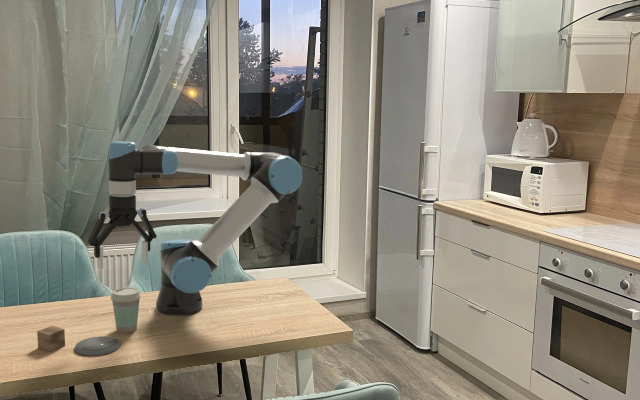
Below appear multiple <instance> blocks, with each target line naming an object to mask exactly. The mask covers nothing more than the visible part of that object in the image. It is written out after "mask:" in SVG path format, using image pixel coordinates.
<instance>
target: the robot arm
mask: <svg viewBox="0 0 640 400" xmlns="http://www.w3.org/2000/svg"><path fill="white" fill-rule="evenodd" d="M107 157H108V193H109V194H110V195H109V197H108V209H109V210H108V212H102V211H99V212H98V213H97V220H96V222H95V224H94V226H93V228H92V231H91V232H90V234H89V236H88V239H87V241H86V243H87V244H88V245H90V246H92V247H93V255H94V258H96V261H97V268H98V269H99V270H104V247H103V246H102V245H103V243H104V242H105V241H106V239H108V237H109V235H110V234H111V233H112V231H113V230H114V229H116V228H117V227H118V228H119V227H129V226H132V227H133V229H135V231H136V232H137V233H138V234H139V235H140V236H141V237H142V238H143V240H141V262H142V263H145V264H148V261H149V259H148V257H149V256H148V255H149V253H148V252H150V251H151V242H153V239H157V234H156V232H155V230H154V228H153V226H152V224H151V222H150V220H149V218H148V217H147V216H148V215H147V210H146V209H144V208H140V209H138V210H137V209H136V208H137V196H136V195H135V194H136V193H137V181H136V180H137V175H164V176H166V175H174V174H176V173H177V172H181V173H192V174H201V175H202V174H205V175H216V176H224V177H225V176H226V177H236V178H237V177H238V178H241V180H243V181H248V182H250V185H249V186H248V187H247V189H246V190H244V192H243V193H242V194H241V195H240V196H239V197H237V199H236V200H235V201H234V202H233V203H232V204H231V205H230V206H229V207H228V208H227V210H226V211H225V212H223V214H221V215H220V217H219V218H218V219H217V220H216V221H215V222H214V223H213V224H212V225H211V227H210V228H208V230H206V232H205V233H204V234H203V235H202V236H201V237H200V238H199V239H195V240H194V239H185V238H184V239H172V240H171V239H170V240H165V241H162V242H161V243H160V250H159V253H160V280H161V281H160V282H161V283H160V288H159V293H158V295H157V299H156V301H155V309H156V311H157V312H159V313H160V314H164V315H171V316H181V315H182V316H183V315H189V314H193V313H196V312H199V311H200V310H202V309H203V298H202V295H201V291H203V290H205V288H206V287H207V286H208V285H209V284H210V282H211V279H212V273H214V271H216V269H217V268H218V267H219V266H220V265H219V263H220V261H219V259H220V258H221V257H222V256H223V255H224V254H225V253H226V251H227V250H228V249H230V247H231V246H232V245H233V244H234V243H235V242H236V241H237V239H239V238H240V237H241V236H242V234H243V233H244V232H245V231H246V230H247V229H248V228H249V227H250V226H251V225H252V224H253V222H254V221H256V220H257V218H258V217H259V216H260V215H261V214H262V213H263V212H264V211H265V210H266V209H267V208H268V207H269V206H270V205H271V204H278V203H279V202H280V201H281V200H282V199H283V198H284V197H285V196H286V195H289V194H292V193H295V192H296V191H297V190H298V189H299V188H300V186H301V185H302V181H303V168H302V166H301V165H300V164H299V162H298V161H297V160H296V159H295V158H293V157H291V156H290V155H288V154H287V155H286V154H280V153H278V152H274V151H273V152H268V151H267V152H253V151H252V152H251V151H245V152H244V153H243V154H242V153H241V154H240V153H232V152H223V151H222V152H221V151H212V150H211V151H210V150H201V149H193V148H192V149H191V148H180V147H173V146H172V147H171V146H162V145H155V144H151V143H149V144H148V143H147V144H144V145H141V146H140V147H138V148H137V145H136V143H135V142H134V141H122V140H121V141H112V142H110V144H109V145H108V156H107ZM137 216H138V217H140V220H141V221H142V223H143V225H144V228H145V230H146V231H145V230H144V229H143V228H142V227H141V225H140V224H139V223H138V221H136V220H135V219H136V217H137ZM107 218H109V221H108V222H107V224H106V226H105V228H104V229H103V226H104V223H105V221H106V220H107ZM101 230H102V231H101Z"/></svg>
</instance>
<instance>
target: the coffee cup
mask: <svg viewBox="0 0 640 400" xmlns="http://www.w3.org/2000/svg"><path fill="white" fill-rule="evenodd" d="M111 293H112V294H111V296H110V300H111V301H112V306H113V314H114V321H115V327H116V331H117V332H118V333H122V334H123V333H125V334H127V333H128V334H129V333H131V332H134V331H136V330H137V326H138V321H139V320H138V318H139V308H140V298H141V296H142V295H141V293H140V291H139V289H137V288H136V287H121V288H116V289H114V290H113V291H112V292H111Z"/></svg>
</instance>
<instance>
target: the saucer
mask: <svg viewBox="0 0 640 400" xmlns="http://www.w3.org/2000/svg"><path fill="white" fill-rule="evenodd" d="M120 348H121V341H120V339H118V338H117V337H114V336H112V337H111V336H107V335H105V336H92V337H87V338H85V339H83V340H82V339H81V340H80V341H77V343H76V344H75V345H74V351H75V353H76V354H78V355H81V356H87V357H97V356H98V357H99V356H103V355H108V354H111V353H114V352H116V351H117V350H118V349H120Z"/></svg>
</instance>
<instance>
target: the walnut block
mask: <svg viewBox="0 0 640 400" xmlns="http://www.w3.org/2000/svg"><path fill="white" fill-rule="evenodd" d="M36 334H37V348H38V349H41V350H43V351H46V352H50V353H51V352H53V351H56V350H58V349H60V348H64V347H65V346H66V337H65V335H66V333H65V328H61V327H58V326H56V325H51V326H48V327H45V328H42V329H39V330H37V333H36Z"/></svg>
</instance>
